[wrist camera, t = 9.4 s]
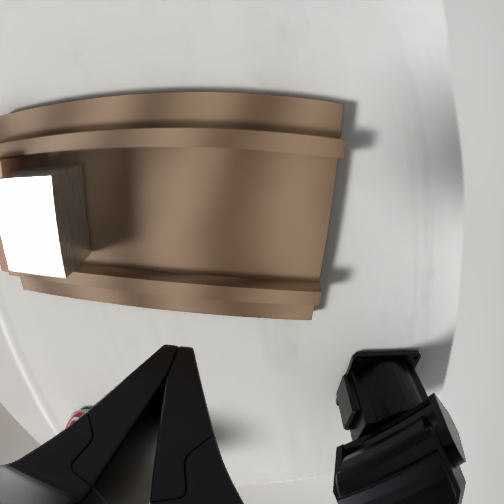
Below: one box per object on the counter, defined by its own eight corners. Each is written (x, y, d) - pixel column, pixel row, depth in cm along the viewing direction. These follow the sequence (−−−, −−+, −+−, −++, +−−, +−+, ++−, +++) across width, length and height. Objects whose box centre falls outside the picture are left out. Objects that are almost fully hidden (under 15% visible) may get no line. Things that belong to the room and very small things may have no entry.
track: (339, 104, 16) (357, 102, 13) (309, 311, 22) (316, 343, 19) (7, 115, 16) (-25, 120, 13) (29, 283, 22) (7, 305, 19)
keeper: (82, 163, 17) (50, 176, 14) (91, 253, 19) (66, 278, 16) (25, 167, 17) (-8, 180, 14) (36, 248, 19) (9, 270, 16)
